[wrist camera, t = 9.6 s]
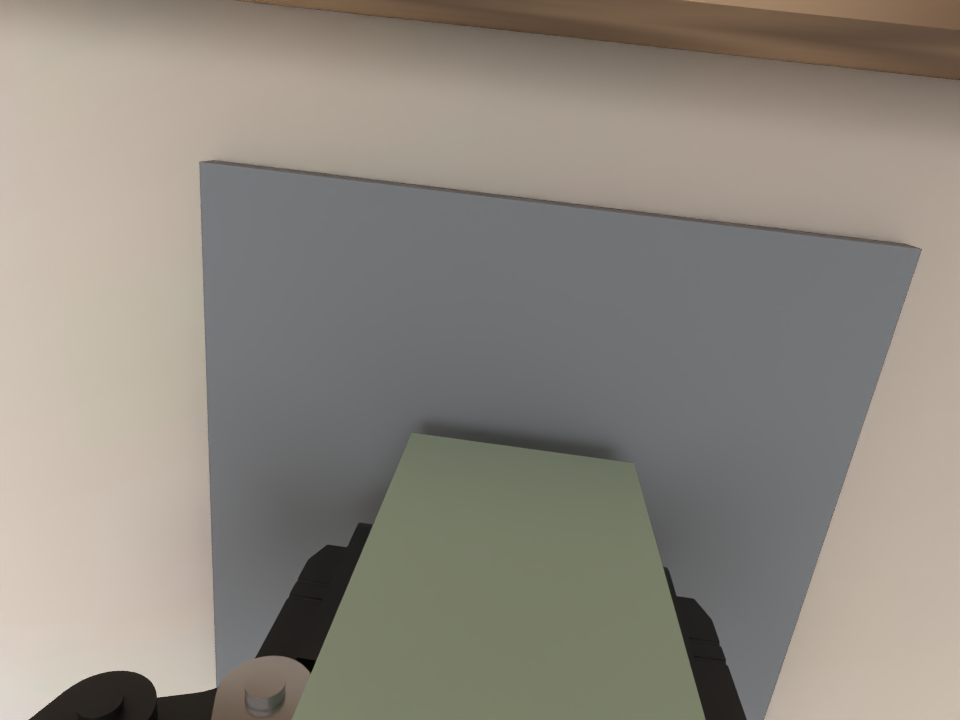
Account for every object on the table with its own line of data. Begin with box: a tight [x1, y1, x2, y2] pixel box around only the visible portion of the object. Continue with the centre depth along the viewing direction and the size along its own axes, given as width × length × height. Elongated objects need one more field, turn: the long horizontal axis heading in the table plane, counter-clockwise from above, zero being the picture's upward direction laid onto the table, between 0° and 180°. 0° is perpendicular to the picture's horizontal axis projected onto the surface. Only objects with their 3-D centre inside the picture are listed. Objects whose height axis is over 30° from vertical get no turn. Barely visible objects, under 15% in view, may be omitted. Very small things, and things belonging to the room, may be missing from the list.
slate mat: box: [199, 160, 922, 720], centre depth 15 cm, size 14×14×1 cm
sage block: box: [292, 433, 705, 720], centre depth 10 cm, size 4×4×8 cm
